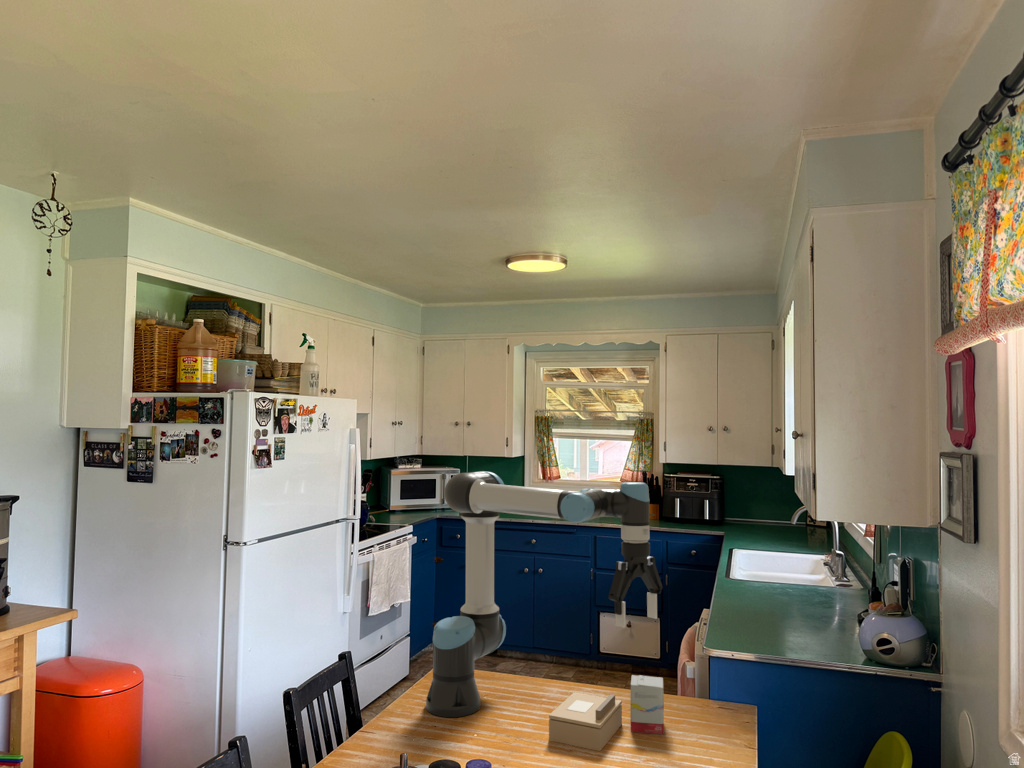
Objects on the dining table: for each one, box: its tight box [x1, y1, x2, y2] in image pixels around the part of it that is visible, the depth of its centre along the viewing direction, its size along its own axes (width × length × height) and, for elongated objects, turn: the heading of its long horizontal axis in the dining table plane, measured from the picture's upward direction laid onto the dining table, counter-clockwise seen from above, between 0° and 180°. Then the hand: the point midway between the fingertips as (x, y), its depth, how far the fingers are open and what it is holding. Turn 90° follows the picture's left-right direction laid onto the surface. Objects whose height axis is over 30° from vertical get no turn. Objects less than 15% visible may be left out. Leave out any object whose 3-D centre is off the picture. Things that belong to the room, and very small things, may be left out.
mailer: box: [548, 704, 623, 752], centre depth 178 cm, size 13×17×5 cm
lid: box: [548, 691, 623, 728], centre depth 178 cm, size 13×17×3 cm
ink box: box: [630, 674, 665, 735], centre depth 182 cm, size 9×9×12 cm
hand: (636, 622), depth 184 cm, fingers open, 13 cm apart
